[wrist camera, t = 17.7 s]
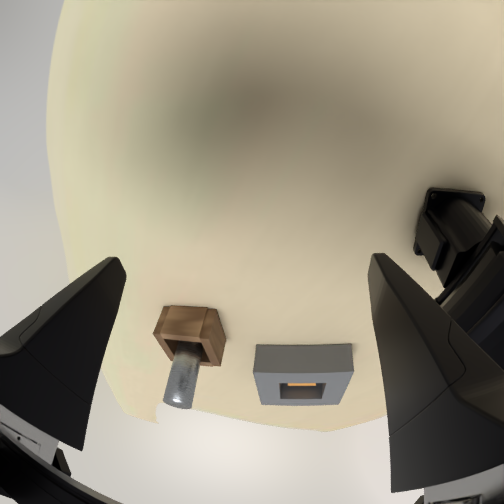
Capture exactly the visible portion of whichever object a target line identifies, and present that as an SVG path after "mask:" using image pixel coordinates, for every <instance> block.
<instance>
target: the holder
mask: <svg viewBox="0 0 504 504" xmlns="http://www.w3.org/2000/svg"><path fill="white" fill-rule="evenodd" d="M153 335H154V336H155V338H156V339H157V341H158V342H159V344H160V346H161V347H162V349H163V350H164V352H165V353H166V354H167V356H168V357H169V359H170V360H171V361H173V359H174V356H175V352H176V348H177V345H178V341H179V340H181V341H191V342H201V343H202V345H203V347H204V348H203V353H202V358H201V363H200V365H201V366H211V367H213V366H221V362H222V357H223V352H224V347H225V343H226V337H225V334H224V331H223V328H222V325H221V322H220V319H219V316H218V313H217V310H216V309H208V308H207V307H186V306H170V307H163V310H162V312H161V315H160V317H159V320H158V322H157V325H156V327H155V330H154V332H153Z"/></svg>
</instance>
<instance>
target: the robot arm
mask: <svg viewBox="0 0 504 504" xmlns="http://www.w3.org/2000/svg"><path fill="white" fill-rule="evenodd" d="M433 193H434V195H433V196H431V195H432V194H433ZM480 198H481V199H480ZM484 203H485V196H484V195H483V194H482V193H480V192H471V191H461V190H450V189H438V188H431V189H429V190H428V192H427V195H426V200H425V205H424V209H423V213H422V214H421V217H420V221H419V225H418V229H417V233H416V237H415V239H416V241H415V245H414V249H413V250H414V252H415V254H416V255H424V256H425V258H426V260H427V262H428V264H429V266H430V268H431V269H432V271H435V270H436V272H437V275H438V277H439V279H440V281H441V283H442V285H443V287H444V288H445V289H444V291H443V292H442V293H441V294H440V295H439V296H438V298H435V299H433V298H432V297H431V296H430V295H429V294H428V293H427V292H426V291H425V290H424V289H423V288H422V287H421V286H420V285H419V284H418V283H416V282H415V281H414V280H413V279H412V278H411V277H410V276H409V275H408V274H407V273H406V272H405V271H404V270H403V269H402V268H401V267H399V266H398V265H397V264H396V263H395V262H394V261H393V260H392V259H391V258H390V257H388V256H387V255H386V254H385V253H374V254H372V257H371V261H370V266H369V271H368V284H369V292H370V301H371V311H372V320H373V326H374V331H375V336H376V341H377V346H378V352H379V358H380V364H381V370H382V377H383V384H384V391H385V399H386V408H387V417H388V428H389V436H390V437H389V443H390V459H391V460H390V462H391V493H395V492H402V491H409V490H415V489H421V488H424V495H422V496H420V498H419V499H418V500H417V501H416V502H415V503H414V504H504V220H503V219H502V218H500V217H499V216H498V215H496V217H495V218H494V220H493V224H491V223H490V222H489V220H488V219H487V218H486V217H485V216H484V215H483V213H482V210H483V206H484ZM418 249H420V250H418ZM125 282H126V272H125V270H124V268H123V266H122V264H121V262H120V260H119V258H118V257H108V258H106V259H104V260H103V261H102V262H100V263H99V264H97V265H96V266H94V267H93V268H91V269H90V270H89V271H87V272H86V273H84V274H83V275H82V276H80V277H79V278H77V279H76V280H75V281H73V282H72V283H71V284H69V285H68V286H67V287H65V288H64V289H63V290H61V291H60V292H58V293H57V294H56V295H55V296H53V297H52V298H51V299H49V300H48V301H47V302H45V303H44V304H43V305H42V306H40V307H39V308H38V309H36V310H35V311H34V312H33V313H31V314H30V315H29V316H28V317H26V318H25V319H23V320H22V321H21V322H20V323H18V324H17V325H16V326H14V327H13V328H11V329H10V330H9V331H7V332H6V333H5V334H3V335H2V336H1V337H0V495H3V496H6V497H9V498H12V499H14V500H15V501H16V502H17V503H18V504H122V503H120V502H117V501H115V500H113V499H111V498H108V497H106V496H104V495H102V494H100V493H98V492H96V491H94V490H92V489H91V488H89V487H87V486H85V485H83V484H81V483H79V482H78V481H76V480H74V479H72V478H71V477H70V476H71V472H70V469H69V467H68V464H67V462H66V459H65V457H64V454H63V451H62V450H61V449H59V448H58V447H57V446H58V443H59V441H61V442H63V443H65V444H67V445H69V446H71V447H73V448H75V449H78V450H80V451H82V450H83V446H84V440H85V435H86V429H87V424H88V419H89V414H90V409H91V404H92V400H93V395H94V391H95V387H96V383H97V379H98V375H99V372H100V368H101V364H102V361H103V357H104V354H105V350H106V347H107V344H108V341H109V337H110V334H111V331H112V328H113V325H114V322H115V319H116V316H117V313H118V309H119V305H120V301H121V297H122V293H123V289H124V286H125Z"/></svg>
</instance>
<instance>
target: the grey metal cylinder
mask: <svg viewBox="0 0 504 504" xmlns="http://www.w3.org/2000/svg"><path fill="white" fill-rule="evenodd" d="M203 348H204V347H203V345H202V343H201V342H191V341H181V340H179V341H178V345H177V348H176V352H175V356H174V359H173V363H172V367H171V371H170V374H169V378H168V382H167V386H166V390H165V394H164V398H163V401H164V402H165V403H166V404H168V405H171V406H173V407H177V408H182V409H190V408H191V407H192V402H193V397H194V392H195V387H196V382H197V377H198V372H199V367H200V363H201V358H202V353H203Z"/></svg>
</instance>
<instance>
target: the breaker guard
mask: <svg viewBox="0 0 504 504" xmlns="http://www.w3.org/2000/svg"><path fill="white" fill-rule="evenodd" d="M353 372H354V366H353V356H352V347H351V344H337V345H256V353H255V360H254V368H253V374H254V378H255V382H256V386H257V390H258V394H259V397H260V401H261V405H287V406H310V405H338V404H339V403H340V401H341V399H342V397H343V395H344V393H345V390H346V388H347V386H348V384H349V382H350V379H351V377H352V375H353ZM288 383H316V386H288Z"/></svg>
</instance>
